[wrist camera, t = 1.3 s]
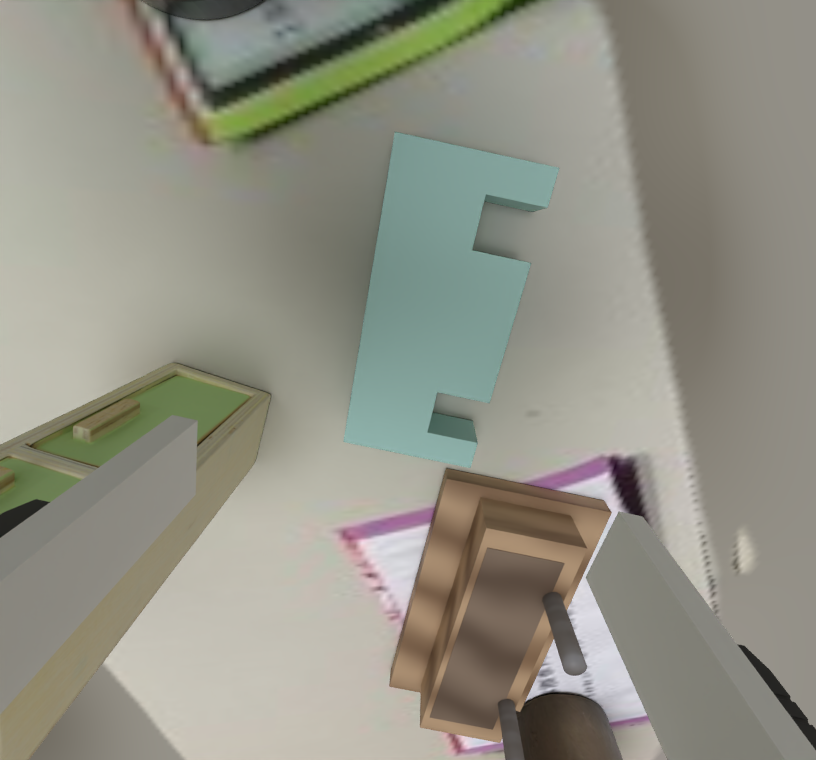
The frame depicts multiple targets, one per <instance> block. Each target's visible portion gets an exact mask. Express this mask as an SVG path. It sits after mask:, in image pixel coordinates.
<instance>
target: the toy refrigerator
mask: <svg viewBox="0 0 816 760" xmlns="http://www.w3.org/2000/svg"><path fill="white" fill-rule="evenodd" d="M270 399H271V395H270V394H268V393H266V392H263V391H260V390H257V389H254V388H251V387H248V386H245V385H242V384H238V383H235V382H232V381H229V380H226V379H223V378H220V377H217V376H214V375H211V374H208V373H205V372H202V371H198V370H195V369H192V368H189V367H186V366H183V365H180V364H177V363H170V364H167V365H165V366H163V367H161V368H159V369H157V370H155V371H153V372H151V373H148V374H147V375H145V376H143V377H141V378H139V379H136V380H134V381H132V382H130V383H128V384H126V385H124V386H122V387H120V388H118V389H116V390H114V391H112V392H110V393H107V394H105V395H103V396H101V397H99V398H97V399H95V400H93V401H91V402H89V403H87V404H85V405H83V406H81V407H79V408H76V409H74V410H72V411H70V412H68V413H66V414H64V415H62V416H59V417H57V418H55V419H53V420H51V421H49V422H47V423H45V424H43V425H41V426H38V427H36V428H34V429H32V430H30V431H28V432H26V433H24V434H21V435H19V436H17V437H15V438H13V439H11V440H9V441H7V442H5V443H3V444H1V445H0V514H2V513H3V512H6V511H8V510H10V509H13V508H15V507H18V506H20V505H23V504H25V503H27V502H30V501H32V500H35V499H38V500H43V501H47V502H51V501H53V500H54V499H55V498H57V497H58V496H60V495H61V494H62V493H64V492H65V491H67V490H68V489H69V488H71V487H72V486H74V485H75V484H76V483H78V482H79V481H81V480H82V479H83V478H85V477H86V476H88V475H89V474H90V473H92V472H93V471H95V470H96V469H97V468H99V467H100V466H102V465H103V464H104V463H106V462H107V461H109V460H110V459H111V458H113V457H114V456H116V455H117V454H118V453H120V452H121V451H123V450H124V449H125V448H127V447H128V446H130V445H131V444H132V443H134V442H135V441H137V440H138V439H139V438H141V437H142V436H144V435H145V434H146V433H148V432H149V431H151V430H152V429H153V428H155V427H156V426H158V425H159V424H160V423H162V422H163V421H165V420H166V419H167V418H169V417H170V416H172V415H175V416H180V417H184V418H189V419H194V420H198V428H197V462H196V495H195V496H194V497H193V498H192V499H191V500H190V502H189V503H188V504H187V505H186V506H185V507H184V508H183V509H182V511H181V512H180V513H179V514H178V515H177V516H176V517H175V518H174V520H173V521H172V522H171V523H170V524H169V525H168V526H167V527H166V529H165V530H164V531H163V532H162V533H161V534H160V535H159V536H158V538H157V539H156V540H155V541H154V542H153V543H152V544H151V545H150V547H149V548H148V549H147V550H146V551H145V552H144V553H143V554H142V556H141V557H140V558H139V559H138V560H137V561H136V562H135V563H134V565H133V566H132V567H131V568H130V569H129V570H128V571H127V572H126V574H125V575H124V576H123V577H122V578H121V579H120V580H119V581H118V583H117V584H116V585H115V586H114V587H113V588H112V589H111V590H110V592H109V593H108V594H107V595H106V596H105V597H104V598H103V599H102V601H101V602H100V603H99V604H98V605H97V606H96V607H95V608H94V610H93V611H92V612H91V613H90V614H89V615H88V616H87V617H86V619H85V620H84V621H83V622H82V623H81V624H80V625H79V626H78V628H77V629H76V630H75V631H74V632H73V633H72V634H71V636H70V637H69V638H68V639H67V640H66V641H65V642H64V643H63V645H62V646H61V647H60V648H59V649H58V650H57V651H56V652H55V654H54V655H53V656H52V657H51V658H50V659H49V660H48V661H47V663H46V664H45V665H44V666H43V667H42V668H41V669H40V670H39V672H38V673H37V674H36V675H35V676H34V677H33V678H32V679H31V681H30V682H29V683H28V684H27V685H26V686H25V687H24V688H23V690H22V691H21V692H20V693H19V694H18V695H17V696H16V697H15V699H14V700H13V701H12V702H11V703H10V704H9V705H8V706H7V708H6V709H5V710H4V711H3V712H2V713H1V714H0V760H29V759H30V757H31V756H32V755H33V754H34V752H35V751H36V750H37V748H38V747H39V745H40V744H41V743H42V742H43V740H44V739H45V738H46V737H47V735H48V734H49V733H50V731H51V730H52V728H53V727H54V726H55V725H56V723H57V722H58V720H59V719H60V718H61V717H62V715H63V714H64V713H65V711H66V710H67V709H68V708H69V706H70V705H71V704H72V702H73V701H74V700H75V699H76V697H77V696H78V695H79V693H80V692H81V691H82V689H83V688H84V687H85V685H86V684H87V683H88V682H89V680H90V679H91V678H92V676H93V675H94V674H95V672H96V671H97V670H98V668H99V667H100V666H101V664H102V663H103V662H104V661H105V659H106V658H107V657H108V655H109V654H110V653H111V651H112V650H113V649H114V647H115V646H116V645H117V643H118V642H119V641H120V639H121V638H122V637H123V635H124V634H125V633H126V632H127V630H128V629H129V628H130V626H131V625H132V624H133V622H134V621H135V620H136V618H137V617H138V616H139V614H140V613H141V612H142V610H143V609H144V608H145V607H146V605H147V604H148V603H149V601H150V600H151V599H152V597H153V596H154V595H155V593H156V592H157V591H158V589H159V588H160V587H161V585H162V584H163V583H164V581H165V580H166V579H167V578H168V576H169V575H170V574H171V572H172V571H173V570H174V568H175V567H176V566H177V564H178V563H179V562H180V561H181V559H182V558H183V557H184V555H185V554H186V553H187V551H188V550H189V549H190V548H191V546H192V545H193V544H194V542H195V541H196V540H197V539H198V537H199V536H200V534H201V533H202V532H203V530H204V529H205V528H206V526H207V525H208V524H209V523H210V521H211V520H212V519H213V518H214V516H215V515H216V514H217V512H218V511H219V510H220V508H221V507H222V506H223V504H224V503H225V502H226V500H227V499H228V498H229V496H230V495H231V494H232V492H233V491H234V490H235V488H236V487H237V486H238V485H239V483H240V482H241V481H242V479H243V478H244V477H245V476H246V474H247V473H248V472H249V470H250V469H251V468H252V466H253V465H254V463H255V460H256V457H257V453H258V449H259V444H260V441H261V436H262V433H263V428H264V424H265V420H266V415H267V411H268V407H269V403H270Z"/></svg>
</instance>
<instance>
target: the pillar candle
mask: <svg viewBox="0 0 816 760" xmlns="http://www.w3.org/2000/svg"><path fill="white" fill-rule="evenodd" d="M516 715H517V720H518V726H519V731H520V737H521V742H522V748H523V753H524V759H525V760H623V759H622V756H621V753H620V750H619V748H618V746H617V743H616V740H615V737H614V735H613V732H612V729H611V726H610V724H609V722H608V718H607V716H606V714H605V713H604V711H603V709H602V708H601V707H600V706H599V705H598V704H596V703H595V702H593V701H592V700H589V699H587V698H585V697H582V696H577V695H563V694H550V695H545V696H540V697H538V698H536V699H533V700H532V701H529V702H528V703H526V704H525V705H523V707H522V709H521V711H520V712H517V713H516Z"/></svg>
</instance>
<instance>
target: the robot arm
mask: <svg viewBox="0 0 816 760" xmlns="http://www.w3.org/2000/svg"><path fill="white" fill-rule="evenodd" d="M141 1H143V2H145V3H147V4H148V5H150V6H152V7H154V8H156V9H159V10H161V11H163V12H166V13H169V14H172V15H176V16H179V17H184V18H190V19H218V18H224V17H228V16H232V15H235V14H238V13H241V12H243V11H245V10H248V9H249V8H251V7H253V6H255V5H257V4H258V3H260V2H261V1H263V0H141ZM197 428H198V420H194V419H189V418H184V417H180V416H175V415H172V416H170V417H169V418H167V419H166V420H165V421H163V422H162V423H160V424H159V425H158V426H156V427H155V428H153V429H152V430H151V431H149V432H148V433H146V434H145V435H144V436H142V437H141V438H139V439H138V440H137V441H135V442H134V443H132V444H131V445H130V446H128V447H127V448H125V449H124V450H123V451H121V452H120V453H118V454H117V455H116V456H114V457H113V458H111V459H110V460H109V461H107V462H106V463H104V464H103V465H102V466H100V467H99V468H97V469H96V470H95V471H93V472H92V473H90V474H89V475H88V476H86V477H85V478H83V479H82V480H81V481H79V482H78V483H76V484H75V485H74V486H72V487H71V488H69V489H68V490H67V491H65V492H64V493H62V494H61V495H60V496H58V497H57V498H55V499H54V500H53V501H51V502H47V501H43V500H38V499H35V500H32V501H30V502H27V503H25V504H23V505H20V506H18V507H15V508H13V509H10V510H8V511H6V512H3V513H2V514H0V714H1V713H2V712H3V711H4V710H5V709H6V708H7V706H8V705H9V704H10V703H11V702H12V701H13V700H14V699H15V697H16V696H17V695H18V694H19V693H20V692H21V691H22V690H23V688H24V687H25V686H26V685H27V684H28V683H29V682H30V681H31V679H32V678H33V677H34V676H35V675H36V674H37V673H38V672H39V670H40V669H41V668H42V667H43V666H44V665H45V664H46V663H47V661H48V660H49V659H50V658H51V657H52V656H53V655H54V654H55V652H56V651H57V650H58V649H59V648H60V647H61V646H62V645H63V643H64V642H65V641H66V640H67V639H68V638H69V637H70V636H71V634H72V633H73V632H74V631H75V630H76V629H77V628H78V626H79V625H80V624H81V623H82V622H83V621H84V620H85V619H86V617H87V616H88V615H89V614H90V613H91V612H92V611H93V610H94V608H95V607H96V606H97V605H98V604H99V603H100V602H101V601H102V599H103V598H104V597H105V596H106V595H107V594H108V593H109V592H110V590H111V589H112V588H113V587H114V586H115V585H116V584H117V583H118V581H119V580H120V579H121V578H122V577H123V576H124V575H125V574H126V572H127V571H128V570H129V569H130V568H131V567H132V566H133V565H134V563H135V562H136V561H137V560H138V559H139V558H140V557H141V556H142V554H143V553H144V552H145V551H146V550H147V549H148V548H149V547H150V545H151V544H152V543H153V542H154V541H155V540H156V539H157V538H158V536H159V535H160V534H161V533H162V532H163V531H164V530H165V529H166V527H167V526H168V525H169V524H170V523H171V522H172V521H173V520H174V518H175V517H176V516H177V515H178V514H179V513H180V512H181V511H182V509H183V508H184V507H185V506H186V505H187V504H188V503H189V502H190V500H191V499H192V498H193V497H194V496H195V495H196V462H197ZM586 579H587V581H588V584H589V586H590V588H591V590H592V593H593V595H594V597H595V599H596V601H597V604H598V606H599V608H600V610H601V613H602V615H603V617H604V619H605V622H606V624H607V626H608V628H609V631H610V633H611V635H612V637H613V639H614V642H615V644H616V646H617V648H618V651H619V653H620V655H621V657H622V660H623V662H624V664H625V666H626V669H627V671H628V673H629V675H630V677H631V680H632V682H633V684H634V686H635V689H636V691H637V693H638V695H639V698H640V700H641V702H642V704H643V706H644V709H645V711H646V713H647V715H648V718H649V720H650V722H651V724H652V727H653V729H654V731H655V733H656V736H657V738H658V740H659V742H660V744H661V747H662V749H663V751H664V753H665V755H666V758H667V760H816V729H815V728H814V727H813V725H809V723H808V719H807V717H806V716H805V715H804V714H803V712H802V711H801V710H800V708H799V707H798V706H797V704H796V703H795V702H792V701H791V700H790V695H789V694H788V693H787V692H786V690H785V689H784V688H783V686H782V685H781V684H780V682H779V681H778V680H777V679H776V677H775V676H774V675H773V673H772V672H771V671H770V670H769V669H768V668H767V667H766V666H765V665H764V664H763V663H762V662H761V661H760V660H759V659H757V657H756V656H754V655H753V654H752V653H751V652H750V651H749V650H748V649H747V648H746V647H745V646H742V645H738V644H737V643H736V642H735V641H734V639H733V638H732V637H731V635H730V634H729V633H728V631H727V630H726V629H725V627H724V626H723V625H722V623H721V622H720V621H719V619H718V618H717V616H716V615H715V614H714V612H713V611H712V610H711V608H710V607H709V606H708V604H707V603H706V602H705V600H704V599H703V598H702V596H701V595H700V594H699V592H698V591H697V589H696V588H695V587H694V585H693V584H692V583H691V581H690V580H689V579H688V577H687V576H686V575H685V573H684V572H683V571H682V569H681V568H680V567H679V565H678V564H677V562H676V561H675V560H674V558H673V557H672V556H671V554H670V553H669V552H668V550H667V549H666V548H665V546H664V545H663V544H662V542H661V541H660V540H659V538H658V537H657V535H656V534H655V533H654V531H653V530H652V529H651V527H650V526H649V525H648V523H647V522H646V521H645V519H644V518H643V517H641V516H637V515H632V514H628V513H623V512H618V514H617V516H616V518H615V520H614V522H613V524H612V526H611V528H610V530H609V532H608V534H607V536H606V538H605V540H604V542H603V544H602V546H601V548H600V550H599V552H598V554H597V556H596V558H595V560H594V562H593V564H592V566H591V568H590V570H589V572H588V574H587V576H586Z"/></svg>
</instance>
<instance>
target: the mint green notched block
mask: <svg viewBox="0 0 816 760" xmlns="http://www.w3.org/2000/svg"><path fill="white" fill-rule="evenodd" d="M558 171H559V168H557V167H553V166H548V165H544V164H539V163H535V162H530V161H526V160H521V159H517V158H512V157H507V156H503V155H498V154H494V153H489V152H485V151H480V150H476V149H471V148H467V147H462V146H458V145H453V144H449V143H444V142H439V141H435V140H430V139H426V138H421V137H417V136H412V135H408V134H403V133H399V132H395V134H394V140H393V146H392V152H391V158H390V165H389V171H388V177H387V183H386V189H385V195H384V201H383V207H382V213H381V219H380V225H379V231H378V237H377V243H376V249H375V255H374V261H373V267H372V273H371V279H370V285H369V291H368V297H367V303H366V309H365V315H364V321H363V327H362V333H361V339H360V345H359V351H358V357H357V363H356V369H355V375H354V381H353V387H352V393H351V399H350V406H349V412H348V418H347V424H346V430H345V436H344V442H347V443H352V444H356V445H361V446H366V447H371V448H376V449H381V450H386V451H390V452H395V453H400V454H405V455H410V456H415V457H420V458H424V459H429V460H434V461H439V462H444V463H449V464H454V465H459V466H463V467H468V468H470V467H471V464H472V461H473V457H474V454H475V450H476V447H477V444H478V442H477V438H476V434H475V429H474V425H473V421H471V420H466V419H461V418H456V417H451V416H447V415H442V414H437V413H432V412H433V408H434V403H435V399H436V395H437V392H438V393H443V394H448V395H452V396H457V397H462V398H467V399H472V400H476V401H481V402H486V403H490V400H491V397H492V393H493V390H494V386H495V383H496V380H497V376H498V373H499V370H500V366H501V363H502V360H503V356H504V353H505V349H506V346H507V343H508V339H509V336H510V333H511V329H512V326H513V322H514V319H515V316H516V312H517V309H518V306H519V302H520V299H521V296H522V292H523V289H524V285H525V282H526V279H527V275H528V272H529V269H530V265H531V263H529V262H525V261H520V260H516V259H511V258H507V257H502V256H497V255H493V254H488V253H484V252H479V251H474V250H472V249H473V245H474V240H475V236H476V232H477V228H478V224H479V220H480V216H481V212H482V208H483V204H484V201H485V202H490V203H494V204H499V205H503V206H508V207H513V208H517V209H522V210H526V211H531V212H533V211H537V210H541V209H545V208H548V205H549V201H550V198H551V195H552V191H553V188H554V184H555V181H556V178H557V174H558Z"/></svg>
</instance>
